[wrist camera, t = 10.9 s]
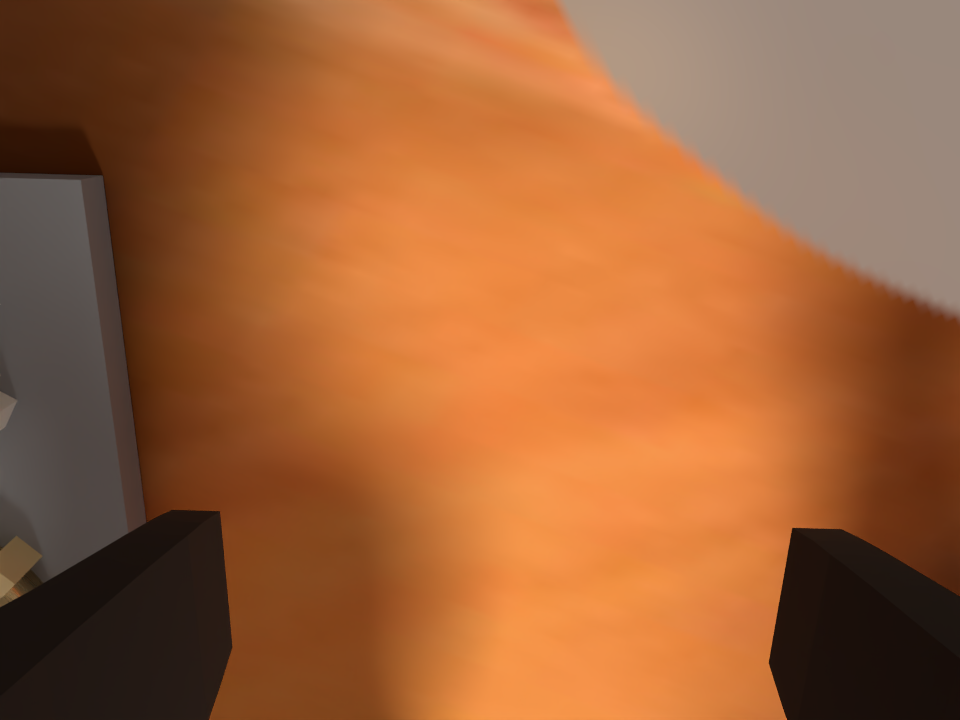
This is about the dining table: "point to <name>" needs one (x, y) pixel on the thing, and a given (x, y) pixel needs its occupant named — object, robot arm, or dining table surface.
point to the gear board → (61, 382)
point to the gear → (6, 408)
